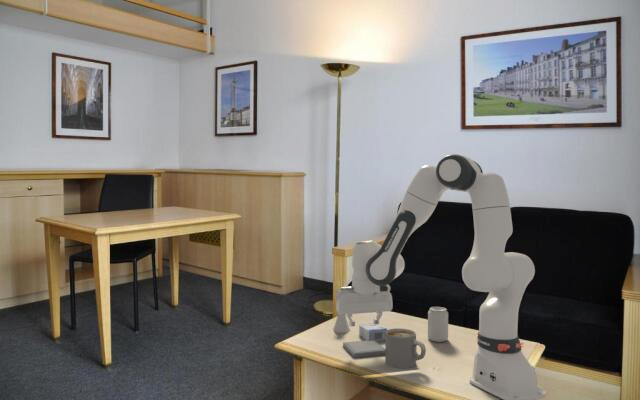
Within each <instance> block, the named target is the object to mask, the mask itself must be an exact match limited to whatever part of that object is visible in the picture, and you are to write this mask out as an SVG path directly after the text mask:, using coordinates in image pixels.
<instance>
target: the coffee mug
mask: <svg viewBox="0 0 640 400" xmlns="http://www.w3.org/2000/svg"><path fill="white" fill-rule="evenodd" d="M384 342H385V346H384V348H385V355H384V358H385V360H384V361H385V364H386V365H387V366H389V367H390V368H391V367H392V368H396V369H410V368H413V367H415V366H416V364H417V361H419V360H422V359H424V357H425V356H426V352H427V351H426V346H425V344H424V342H422V341H420V340H417V333H416V331H414V330H412V329H408V328H401V327H399V328H391V329H390V328H389V329H387V331H386V333H385V340H384ZM417 346H419V348H420V354H418V351H417Z"/></svg>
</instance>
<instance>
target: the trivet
mask: <svg viewBox="0 0 640 400" xmlns="http://www.w3.org/2000/svg"><path fill="white" fill-rule="evenodd" d="M342 347H343V348H344V349H345V350H346V352H347V353H348V354H350V355H351V356H352V357H353V358H355V359H357V358H365V357H366V358H367V357H374V356H385V346H383V345H382V344H380V343H379V342H378V341H375V340H359V341H358V340H357V341H346V342H345V341H344V342H343V343H342Z"/></svg>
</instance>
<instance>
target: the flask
mask: <svg viewBox="0 0 640 400" xmlns="http://www.w3.org/2000/svg"><path fill="white" fill-rule="evenodd" d="M349 326H350V325H349V324H348V321H347V316H346V314H344V315H340V314H339V313H338V312H337V318H336V319H335V323H334V327H333V328H332V330H333V332H334V333H338V334H348V333H350V332H351V328H350V327H349Z"/></svg>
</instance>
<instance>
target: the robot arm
mask: <svg viewBox="0 0 640 400" xmlns="http://www.w3.org/2000/svg"><path fill="white" fill-rule="evenodd" d="M448 190H452V191H457V192H465V193H466V192H467V193H468V195H469V197H470V200H471V208H472V216H473V217H472V218H473V229H474V240H473V245H472V249H471V252H470V254H469V255H470V256H469V257H468V258H467V259H466V261H465V262H464V263H463V266H462V269H461V277H462V281H463V282H464V284H465V285H466V287H467V288H468V289H469V290H471V291H474V292H475V291H476V292H480V293H481V292H482V293H483V292H484V293H488V295H487V297H486V299H485V300H484V302H483V303H482V304H480V307H479V316H478V318H479V320H478V321H479V322H478V323H479V324H478V332H477V335H476V336H477V338H476V340H477V341H476V342H477V345H478V347H477V351H475V354H474V360H473V370H472V376H471V377H470V378H469V384H472V385H473V386H475V387H478V388H479V389H482V390H483V391H485V392H488V393H489V394H491V395H494V396H496V397H498V398H500V399H501V400H541V399H543V398H546V397H547V396H548V394H547V391H546V390H545V389H544V388H543V387H541V386H540V385H539V384H538V376H537V371H536V368H535V366H534V365H532V364H531V363H530V362H529V361H528V358H527V357H526V356H525V355H524V353H523V351H522V348H524V346H523V345H524V342H522V343H521V339H520V337H519V335H518V324H519V323H518V322H519V309H520V306H521V301H522V299H523V295H524V294H525V291H526V288H527V287H528V285H529V284H530V283H531V281H532V280H533V279H534V276H535V273H536V269H535V265H534V262H533V261H532V259H531V258H530V257H529V256H528V255H526V254H524V253H520V252H513V251H511V252H510V251H509V252H505V249H506V246H507V245H506V244H507V241H508V239H509V238H510V237H511V236H512V234H513V232H514V231H513V230H514V229H513V228H514V227H513V221H512V212H511V211H512V210H511V207H510V206H511V205H510V199H509V198H510V197H509V195H508V190H507V187H506V184H505V181H504V178H503V177H502V176H501V175H500V174H498V173H495V172H484V171H483V169H482V167H481V165H480V164H478V163H477V162H476V161H474V160H472V159H471V158H470V157H467V156H464V155H460V154H456V153H455V154H454V153H452V154H449V155H446V156H444V157H443V158H441V159H440V160H439V161H438V162H437V165H436V166H434V165H431V164H430V165H423V166H422V167H420V168H419V169H418V171H417V172H416V174H415V175H414V176H413V178H412V179H411V182H410V184H409V185H408V187H407V189H406V191H405V193H404V196H403V198H402V201H401V203H400V206H399V208H398V212H397V214H396V216H395V218H394V222H393V224H392V226H391V228H390V229H389V231H388V234H387V235H386V237H385V239H384V241H383V242H382V244H379V243H378V242H377V241H375V240H372V239H369V240H362V241H359V242H358V241H357V243H355V245H353V249H352V250H353V251H352V263H351V265H352V270H353V273H352V276H351V280H352V281H351V286H347V287H346V286H345V287H344V286H343V287H340V288H339V289H337V291H336V305H335V307H336V308H335V310H336V313H337V314H338V313H339V314H340V315H344V314H345V316H346V319H348V322H349V324H348V325H349V326H350V327H355V326H356V321H355V320H354V319H352V318H353V315H356V314H357V315H358V314H372V313H376V314H377V315H376V317H375V318H373V324H375V325H376V324H379V325H380V320H381V319H382V316H383V313H385V312H391V311H392V310H393V295H392V293H391V292H390V291H391V286H390V284H391V283H392V282H393V281H394V280H395V279H396V278H398V277H399V276H400V275H401V274H402V273H403V272H404V270H405V268H406V267H405V266H406V261H405V259H404V257H403V256H402V254H401V252H402V251H403V248H404V247H405V244H406V243H407V241H408V239H409V238H410V236H411V235H412V234H413V233H414V232H415V231H416V230H417V229H418V228H420V227H421V226H422V225H423V224H425V223H427V221H428V220H429V219H430V217H431V216H432V214H433V212H435V209H436V207H437V205H438V203H439V201H440V199H441V197H442V195H444V193H445V192H447V191H448Z"/></svg>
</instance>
